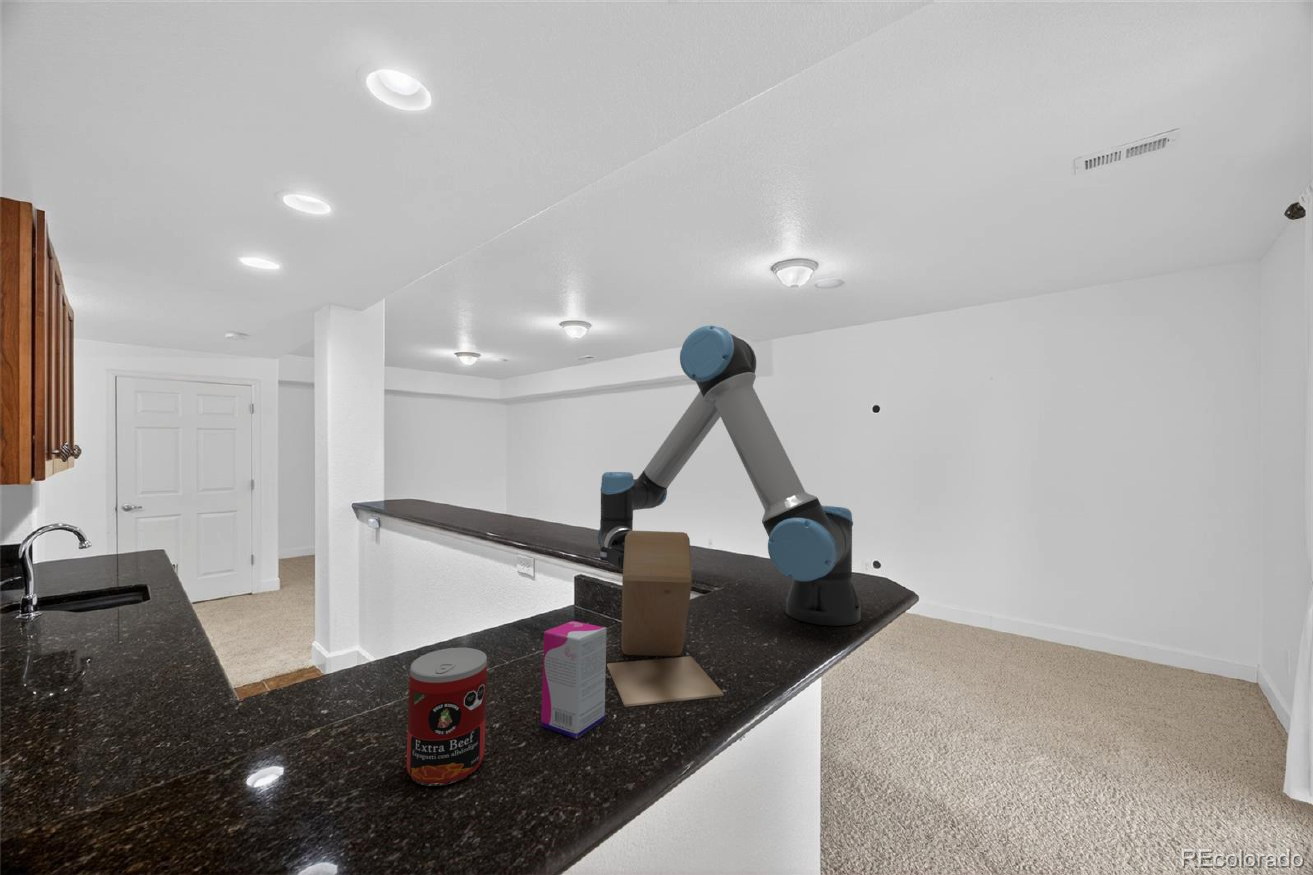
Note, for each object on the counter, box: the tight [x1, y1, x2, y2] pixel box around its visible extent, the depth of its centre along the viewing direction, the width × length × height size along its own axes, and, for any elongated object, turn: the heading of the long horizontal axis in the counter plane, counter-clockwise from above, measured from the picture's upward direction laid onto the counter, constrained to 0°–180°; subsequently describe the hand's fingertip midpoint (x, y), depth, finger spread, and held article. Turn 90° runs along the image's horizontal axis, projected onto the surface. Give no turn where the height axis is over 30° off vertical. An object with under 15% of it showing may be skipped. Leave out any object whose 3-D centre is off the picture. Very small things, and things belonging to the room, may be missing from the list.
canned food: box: [406, 647, 488, 783], centre depth 56 cm, size 8×8×11 cm
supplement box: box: [540, 620, 607, 740], centre depth 65 cm, size 6×6×12 cm
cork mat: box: [606, 656, 725, 708], centre depth 78 cm, size 14×14×1 cm
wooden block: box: [620, 530, 693, 657], centre depth 84 cm, size 10×10×20 cm
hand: (651, 569), depth 90 cm, fingers closed
